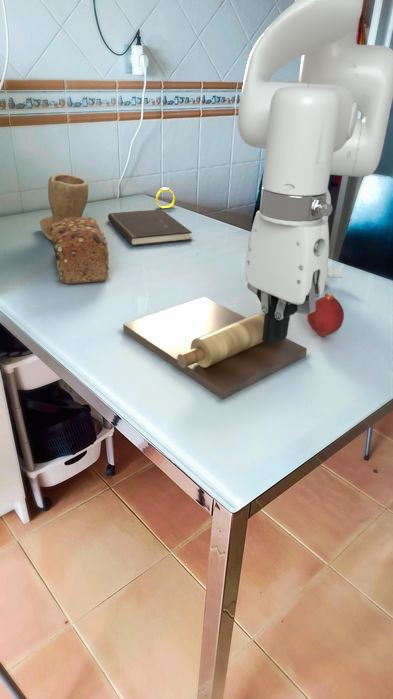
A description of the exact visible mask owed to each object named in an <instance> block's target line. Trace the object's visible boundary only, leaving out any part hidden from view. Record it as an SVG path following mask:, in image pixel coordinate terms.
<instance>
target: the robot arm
mask: <svg viewBox="0 0 393 699" xmlns="http://www.w3.org/2000/svg"><path fill="white" fill-rule="evenodd" d="M363 6H364V0H294V2H292V4H290V5H289V6H288V7H287V8H286V9H284V10H283V11H282V12H281V13H280V14H279V15H278V16H276V18H275V19H274V20H272V22H271V23H270V24H269V25H268V26H267V27H266V28H265V30H264V31H263V32H262V34H261V35H260V36H259V38H258V39H257V41H256V42H255V43H254V46H253V48H252V50H251V52H250V54H249V57H248V60H247V64H246V67H245V73H244V77H243V83H242V88H241V93H240V97H239V103H238V111H237V128H238V134H239V136H240V138H241V140H242V141H243V143H245V144H246V145H248V146H250V147H252V148H255V149H256V148H257V149H265V150H264V151H265V152H264V162H263V173H262V181H261V182H262V183H261V184H262V185H261V193H260V203H259V210H257V211H256V213H255V216H254V219H253V223H252V227H251V231H250V235H249V239H248V244H247V251H246V257H245V267H244V268H245V270H244V271H245V272H244V275H245V276H244V278H245V280H246V282H247V284H246V287H247V289H248V290H249V291H251V292H252V293H253V294H255V295H256V296H257V298H258V300H259V303H260V310H261V312H263V313H264V314H265V317H264V326H263V337H262V340H263V341H265V342H268V343H269V344H270V345H274V344H276V343H278V342H280V341H282V340H284V339H285V338H287V335H288V332H289V325H290V320H291V316H293V315H294V314H296V313H297V314H302V315H306V316H307V315H308V314H310V313H313V312H315V310H316V302H315V301H316V298H322V297H323V295H324V293H325V288H326V283H327V278H332V279H342V278H343V275H344V271H343V268H335V267H334V265H329V257H330V256H329V255H330V254H329V253H330V230H329V216H331V215H332V212H333V205H332V200H331V199H332V198H331V193H330V191H329V181H330V176H331V175H332V176H342V177H355V178H365V177H369V176H371V175H372V174H373V173H374V172H375V171H376V170H377V168H378V167H379V164H380V160H381V157H382V154H383V149H384V144H385V139H386V134H387V128H388V123H389V119H390V115H391V114H390V113H391V109H392V103H393V49H392V48H391V47H388V46H385V45H379V44H358V43H357V37H358V36H357V35H358V30H359V23H360V18H361V16H362V12H363ZM300 57H301V59H300V69H299V78H298V82H291V81H289V82H287V81H270V80H271V78H272V77H273V75H274V74H276V72H277V71H278V70H280V69H281V68H282V67H283V66H285V65H286V64H287V65H288V63H290V62H292V61H294V60H296V59H298V58H300ZM358 112H360V113H361V118H358ZM289 319H290V320H289Z"/></svg>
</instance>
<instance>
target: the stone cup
mask: <svg viewBox="0 0 393 699" xmlns="http://www.w3.org/2000/svg"><path fill="white" fill-rule="evenodd" d="M47 183H48V184H47V197H48V204H49V207H50V210H51V215H50V216H46V217H44V218H42V219H40V221H39V225H40V229H41V230H42V233H43V235H44V236H45V237H46V238H47V239H48V240H50V241H52V237H51V232H50V230H51V226H52V225H53V224H55V223H56V222H58V221H60V219H62V218H67V217H83V216H84V211H85V209H86V206H87V203H88V199H89V184H88V181H87V180H86V179H84V178H82V177H79V176H75V175H72V174H66V173H55V174H52V175H51V176H49V179H48V181H47Z"/></svg>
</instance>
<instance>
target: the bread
mask: <svg viewBox="0 0 393 699" xmlns="http://www.w3.org/2000/svg"><path fill="white" fill-rule="evenodd" d="M50 232H51V237H52V240H51V242H52V249H53V251H54V255H55V260H56V268H57V272H58V277H59V280H60V282H61V283H63V284H69V285H70V284H71V285H72V284H74V285H75V284H84V283H99V282H100V283H101V282H104V281H106V280H107V279H108V276H109V269H110V267H109V264H110V263H109V258H110V256H109V255H110V253H109V250H108V249H109V248H108V241H107V239H106V236H105V234H104V232H103V230H102V229H101V228H100V226H99V223H98V221H97V220H96V219H94V218H92V217H83V216H82V217H67V218H62V219H60V221H58V222H56V223H55V224H53V225H52V226H51V230H50Z"/></svg>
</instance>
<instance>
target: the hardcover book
mask: <svg viewBox="0 0 393 699" xmlns="http://www.w3.org/2000/svg"><path fill="white" fill-rule="evenodd" d="M107 219H108V220H107V221H108V222H110V223H111V224H112V225H113V226H114V228H115V229H116V230H117V231H118V232H119V233H120V234H121V235H122V237H124V239H125V240H126V241H127V242H128V243H129V244H130V245H131V246H132V247H141V246H150V245H151V246H152V245H161V244H171V243H178V242H179V243H180V242H182V243H183V242H190V241H192V239H191V234H192V231H191V230H190V229H188V228H187V227H186V226H184V225H183V224H182V223H180V222H179V221H178V220H177V219H175V218H174V217H172V216H171V215H170V214H168V213H167V212H166V211H164V210H163V208H160V209H147V210H146V209H145V210H136V211H122V212H121V211H120V212H109V213H108V215H107Z"/></svg>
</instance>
